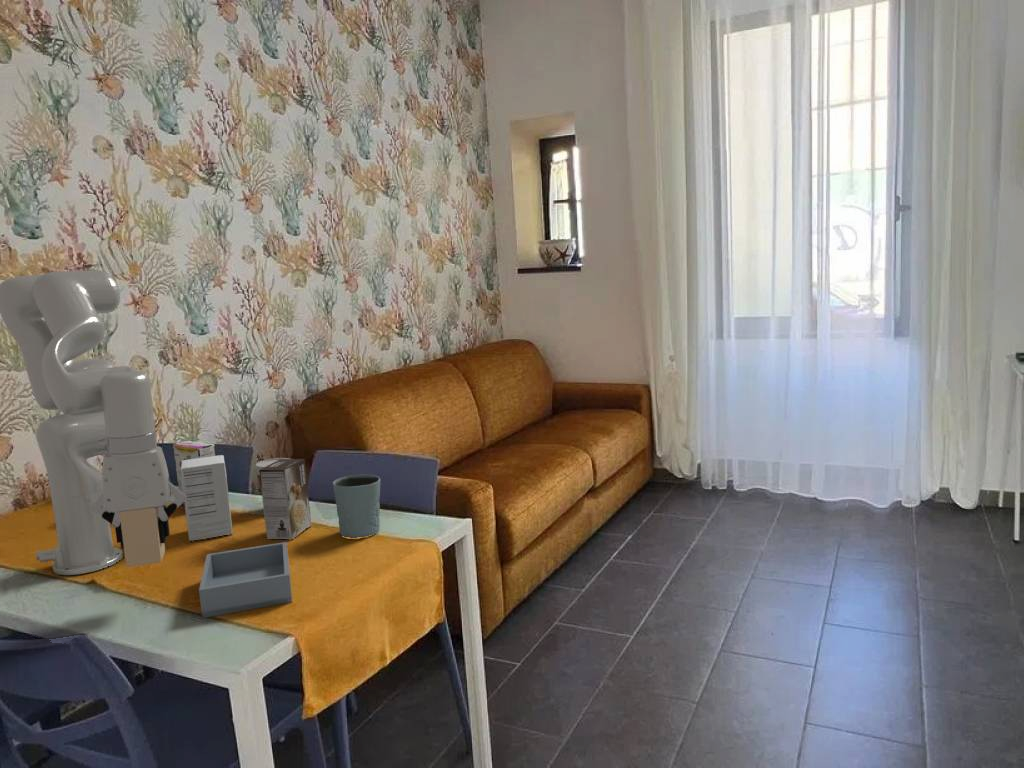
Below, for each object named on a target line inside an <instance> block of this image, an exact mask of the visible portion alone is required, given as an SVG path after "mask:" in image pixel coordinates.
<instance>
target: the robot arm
mask: <svg viewBox="0 0 1024 768" xmlns="http://www.w3.org/2000/svg"><path fill="white" fill-rule="evenodd" d="M120 294H121V293H120V289H119V286H118V284H117V282H116V280H115V279H114V277H112V276H111V274H110V273H108V272H106V271H104V270H98V269H95V270H94V269H93V270H92V269H91V270H90V269H88V270H87V269H86V270H85V269H83V270H55V271H50V272H46V273H44V274H39V275H38V274H37V275H36V274H34V275H22V276H14V277H11V278H8V279H6V280H4V281H2V282H0V317H1V319H2V321H3V323H4V326H5V327H6V329H7V330H8V331H9V333H10V334H11V336H12V337H13V339H14V340H15V342H16V343H17V344H16V345H18V347H19V350H20V352H21V355H22V359H23V362H24V366H25V369H26V370H25V371H26V373H27V377H28V380H29V384H30V387H31V390H32V393H33V397H34V399H35V401H36V403H37V405H38V406H39V407H40V408H41V409H43V410H47V411H48V410H49V411H54V410H55V411H56V410H58V411H60V412H62V414H57V415H53V416H51V417H49V418H46V419H44V420H42V421H41V423H39V425H38V426H37V429H36V434H35V435H36V442H37V446H38V448H39V450H40V451H39V452H40V453H41V456H42V459H43V463H44V466H45V469H46V475H47V478H48V485H49V491H50V492H49V493H50V499H51V502H52V503H51V505H52V509H53V515H54V522H55V530H56V536H57V542H58V543H57V544H58V546H55V547H54V548H53V549H44V550H43V549H42V550H37V551H36V553H35V554H36V556H35V558H36V560H37V561H39V562H40V563H47V562H52V561H53V562H54V563H53V564H52V571H53V572H54V573H55V574H56V575H61V576H74V575H75V576H76V575H84V574H87V573H89V574H90V573H92V572H93V573H94V572H96V571H101V570H103V568H104V569H106V568H108V566H109V567H110V566H111V567H112V566H113V565H116V564H117V563H118V562H120V561H121V560H122V559H123V557H124V552H123V550H124V545H123V537H122V529H121V521H120V513H119V512H121V511H129V510H138V509H146V508H154V507H155V508H156V509H157V513H158V515H159V522H158V527H159V536H160V543H164V544H165V543H166V540H167V537H170V534H171V533H170V525H169V522H170V521H169V517H171V515H172V514H173V513H175V511H176V510H177V509H178V508H179V507H180V506H182V505H181V504H182V503H183V502H184V501H185V500H186V497H187V496H186V494H184V493H183V492H182V491H181V490H179V487H178V486H176V485H174V484H173V483H172V482H171V480H170V474H169V470H168V465H167V461H166V458H165V455H164V451H163V448H162V447H161V446H158V444H157V443H158V441H157V431H156V423H155V416H154V407H153V396H152V389H151V388H152V387H151V380H150V378H149V375H148V374H147V373H145V372H144V371H140V370H139V371H138V370H137V369H136V368H135V367H132V366H128V365H127V366H126V365H123V366H121V365H120V366H119V365H118V366H116V365H115V364H114V363H113V362H111V361H110V360H108V359H104V358H90V359H88V358H87V359H82V360H81V359H80V360H78V359H76V358H78V357H80V356H81V355H83V354H86V353H88V352H90V351H91V350H93V349H94V348H96V347H97V346H99V344H100V343H101V342H102V341H103V339H104V337H105V335H106V326H105V324H104V322H103V320H102V318H101V317H100V314H107V313H108V314H109V313H112V312H114V311H116V309H117V308H118V307H119V305H120V302H121V295H120ZM101 455H102V456H103V457H102V470H101V471H102V472H101V471H99V470H98V469H97V468H96V467H95V466H93V465H92V464H90V463H89V462H88V461H87V460H88V459H90V458H94V457H96V456H101ZM171 496H173V497H174V500H173V501H172V502H170V499H171ZM169 502H170V503H169ZM168 503H169V505H167V504H168ZM111 525H112V527H113V528H114V530H115V537H116V543H117V544H120V548H118V547H114V543H113V536H112V529H111V528H112V527H111ZM119 560H120V561H119ZM116 562H117V563H116Z"/></svg>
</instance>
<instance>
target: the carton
mask: <svg viewBox="0 0 1024 768" xmlns="http://www.w3.org/2000/svg"><path fill="white" fill-rule="evenodd" d="M119 513H120V521H121V529H122V537H123V545H124V549H123V551H124V552H123V554H124V559H125V567H126V568H130V567H137V566H144V565H152V564H153V565H154V564H158V563H162V561H163V558H164V556H165V553H166V546H165V543H160V536H159V527H158V522H159V515H158V513H157V509H156V508H155V507H154V508H146V509H138V510H129V511H121V512H119Z"/></svg>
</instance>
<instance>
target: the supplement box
mask: <svg viewBox="0 0 1024 768" xmlns="http://www.w3.org/2000/svg"><path fill="white" fill-rule="evenodd" d="M180 472H181V481H182V488H183V493H184V494H186V496H187V497H186V500H185V501H184V502H185V506H184V509H185V519H186V526H187V535H188V541H190V540H197V539H203V538H210V537H216V536H222V535H228V534H232V535H233V525H232V524H233V523H232V515H231V513H232V512H231V505H230V504H231V503H230V502H231V501H230V495H229V493H230V492H229V485H228V484H229V483H228V478H227V477H228V476H227V468H226V463H225V456H224V455H223V454H219V455H216V456H211V457H204V458H196V459H189V460H182V465H181V469H180ZM228 536H229V535H228ZM222 537H223V536H222ZM216 538H217V537H216ZM210 539H211V538H210Z"/></svg>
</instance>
